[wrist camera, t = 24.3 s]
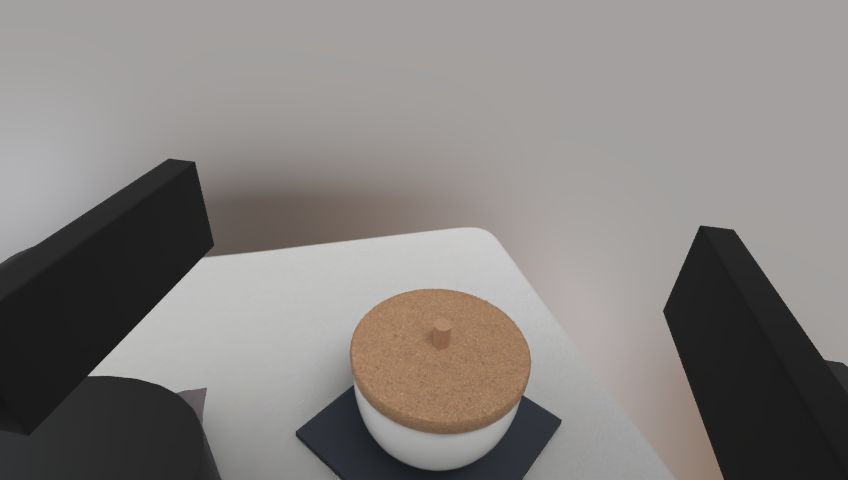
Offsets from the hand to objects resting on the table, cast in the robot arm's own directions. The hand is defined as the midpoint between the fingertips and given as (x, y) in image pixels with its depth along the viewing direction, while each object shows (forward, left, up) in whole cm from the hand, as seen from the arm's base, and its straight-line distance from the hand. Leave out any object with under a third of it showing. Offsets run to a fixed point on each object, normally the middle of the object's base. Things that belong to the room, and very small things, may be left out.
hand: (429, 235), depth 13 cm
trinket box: (+5, -8, -22) cm, 24 cm away
